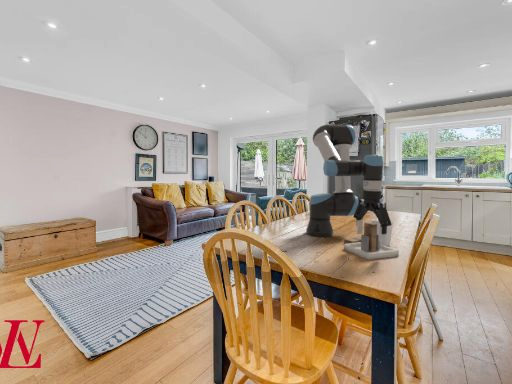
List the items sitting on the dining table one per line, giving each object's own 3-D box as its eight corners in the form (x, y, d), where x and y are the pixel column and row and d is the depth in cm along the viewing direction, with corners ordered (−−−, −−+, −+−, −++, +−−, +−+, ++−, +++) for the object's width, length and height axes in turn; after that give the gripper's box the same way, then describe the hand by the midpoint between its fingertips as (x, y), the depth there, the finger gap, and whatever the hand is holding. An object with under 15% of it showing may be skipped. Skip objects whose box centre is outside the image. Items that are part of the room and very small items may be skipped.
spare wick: (351, 246, 128) (352, 241, 128) (344, 244, 133) (344, 239, 132) (368, 243, 134) (368, 238, 134) (360, 241, 138) (360, 236, 138)
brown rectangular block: (363, 248, 119) (364, 222, 118) (367, 247, 120) (368, 222, 119) (371, 251, 115) (372, 224, 114) (376, 251, 115) (377, 224, 114)
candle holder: (394, 246, 126) (395, 222, 125) (372, 245, 128) (373, 221, 127) (388, 241, 136) (389, 218, 135) (368, 240, 138) (369, 218, 137)
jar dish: (343, 249, 122) (344, 232, 122) (371, 246, 128) (371, 229, 127) (368, 260, 107) (369, 240, 107) (398, 256, 112) (399, 237, 112)
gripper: (346, 188, 126) (345, 231, 128) (388, 192, 102) (385, 245, 104) (359, 188, 128) (357, 230, 130) (402, 192, 105) (400, 244, 107)
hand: (370, 237), depth 117 cm, fingers open, 13 cm apart
